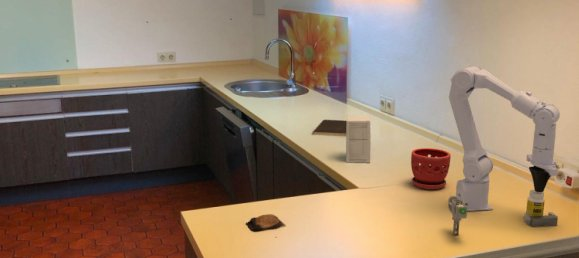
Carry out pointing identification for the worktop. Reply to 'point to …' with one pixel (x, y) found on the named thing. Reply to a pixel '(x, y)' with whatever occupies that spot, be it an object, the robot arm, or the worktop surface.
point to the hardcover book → (331, 128)
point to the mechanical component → (457, 212)
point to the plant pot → (430, 167)
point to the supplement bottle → (535, 203)
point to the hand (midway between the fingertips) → (539, 191)
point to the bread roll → (264, 223)
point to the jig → (541, 220)
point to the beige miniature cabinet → (358, 139)
